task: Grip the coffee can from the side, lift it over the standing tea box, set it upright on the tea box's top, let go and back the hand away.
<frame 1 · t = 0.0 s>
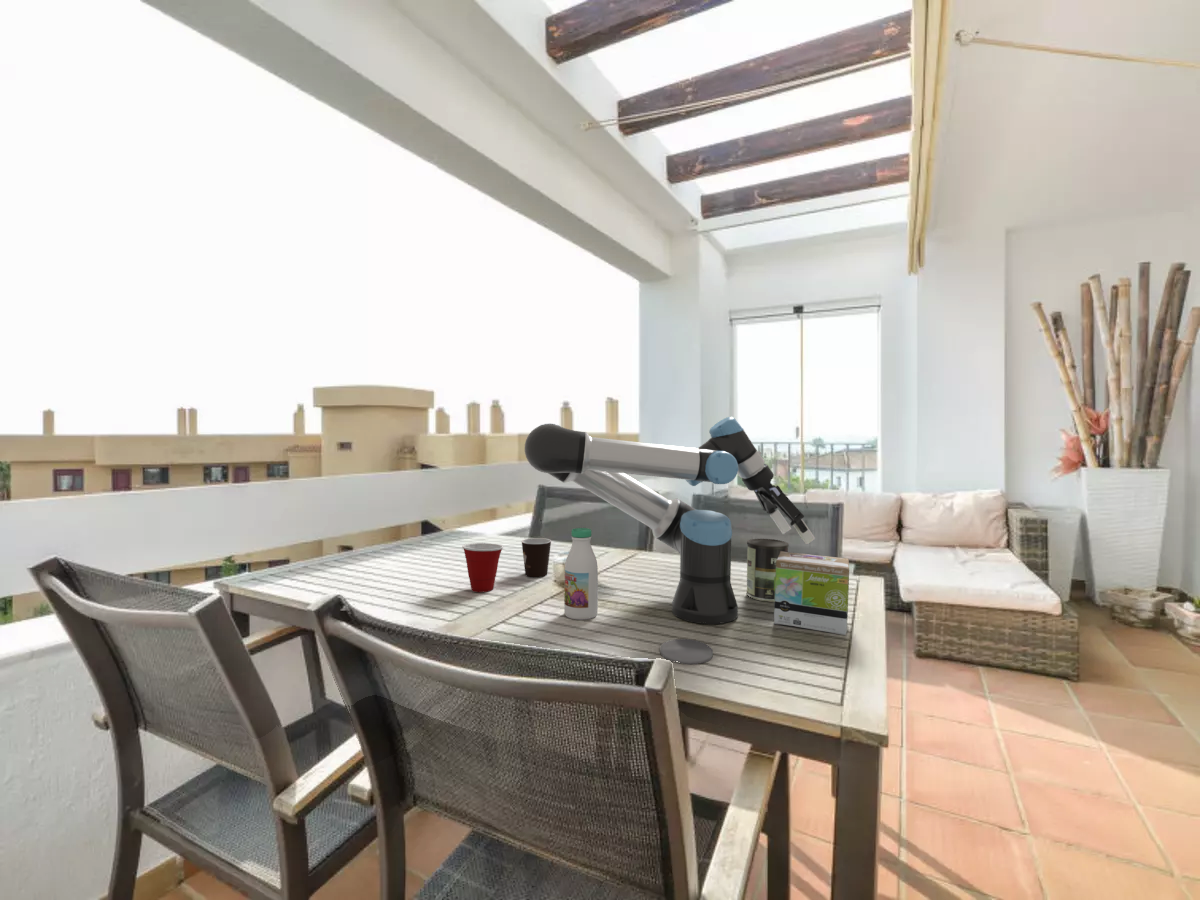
hand: (798, 536, 143), 15 cm above the table, tool tilted 35°, fingers open, 13 cm apart
slate coaster: (686, 653, 105), on the table
milk bottle: (581, 615, 126), on the table
tea box: (810, 624, 122), on the table
coffee can: (766, 596, 141), on the table
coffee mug: (537, 573, 162), on the table
plastic cup: (483, 589, 146), on the table
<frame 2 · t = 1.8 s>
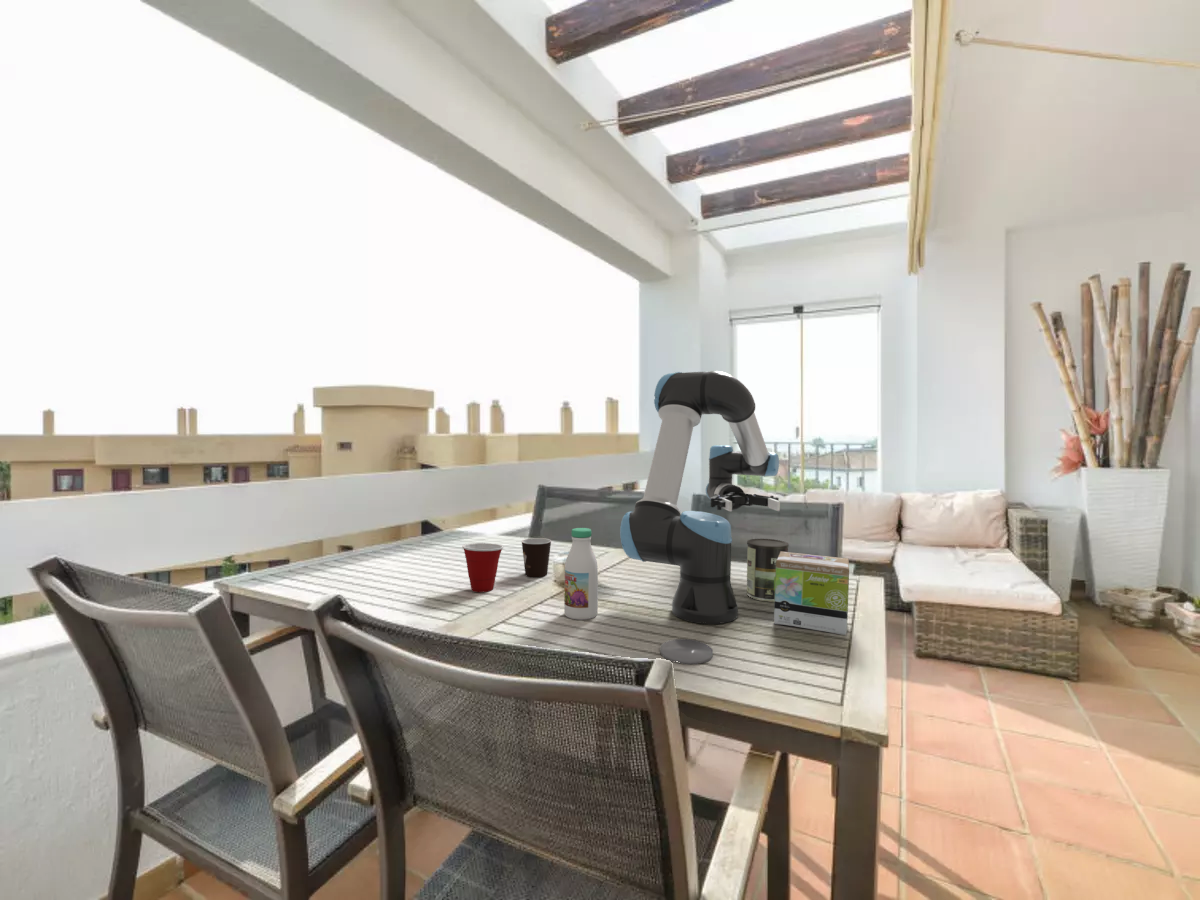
hand: (754, 506, 150), 22 cm above the table, tool horizontal, fingers open, 13 cm apart
nothing on the table moved.
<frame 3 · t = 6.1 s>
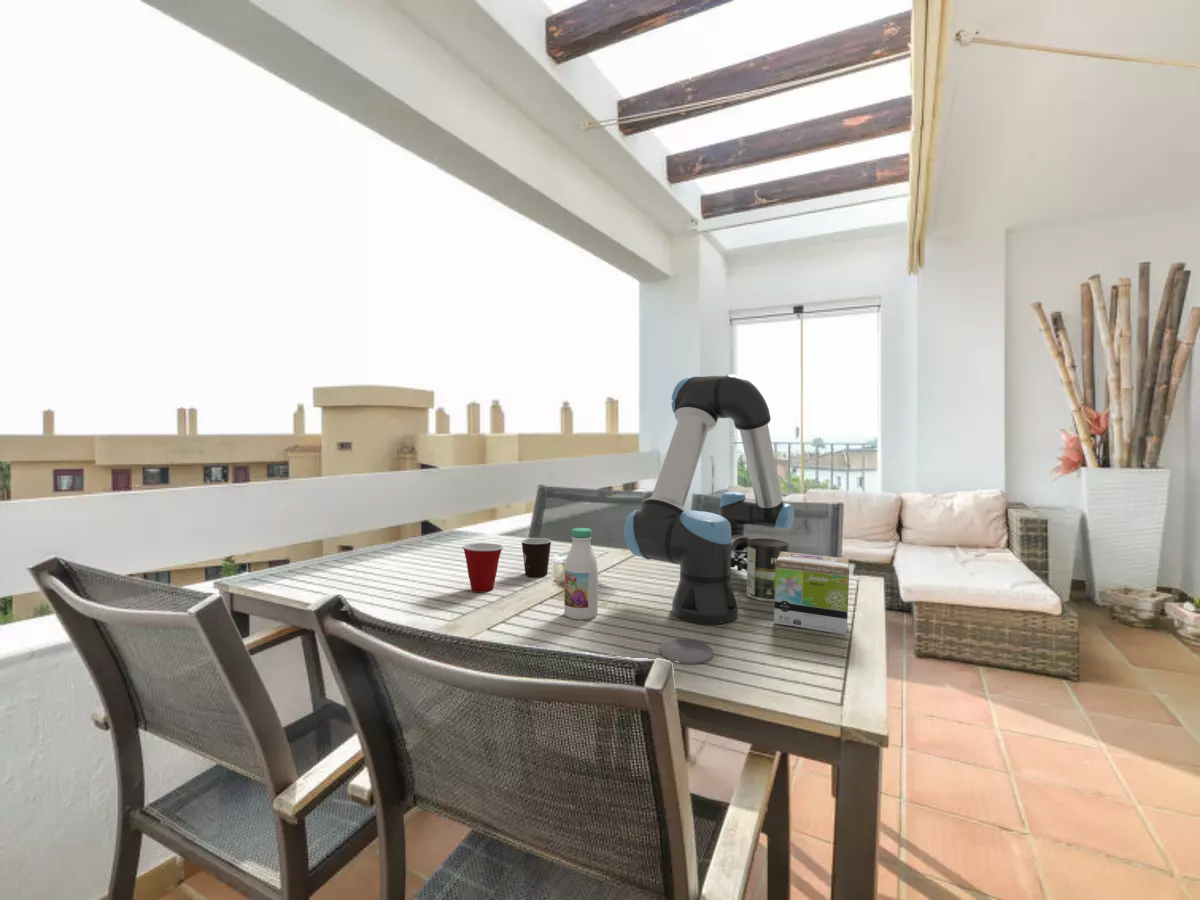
hand: (773, 569, 137), 8 cm above the table, tool horizontal, fingers closed on coffee can, 10 cm apart
coffee can: (766, 596, 141), on the table, touching gripper
everything else where it was.
when the fingers open (24 cm above the table, at t = 12.5 s): coffee can drops 1 cm, resting on tea box.
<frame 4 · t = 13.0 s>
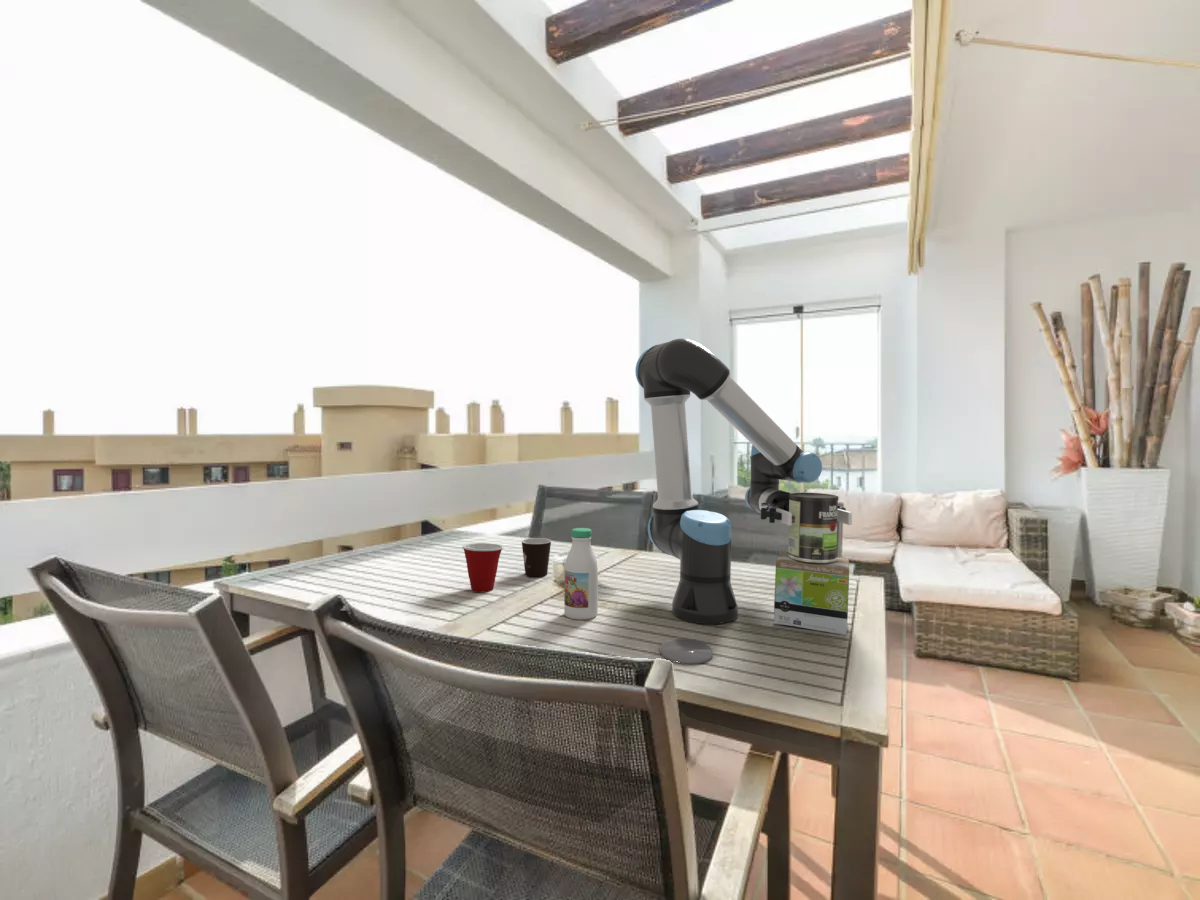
hand: (820, 518, 118), 24 cm above the table, tool horizontal, fingers open, 13 cm apart
tea box: (810, 624, 122), on the table, touching coffee can
coffee can: (811, 558, 121), point 14 cm above the table, touching tea box
everything else where it was.
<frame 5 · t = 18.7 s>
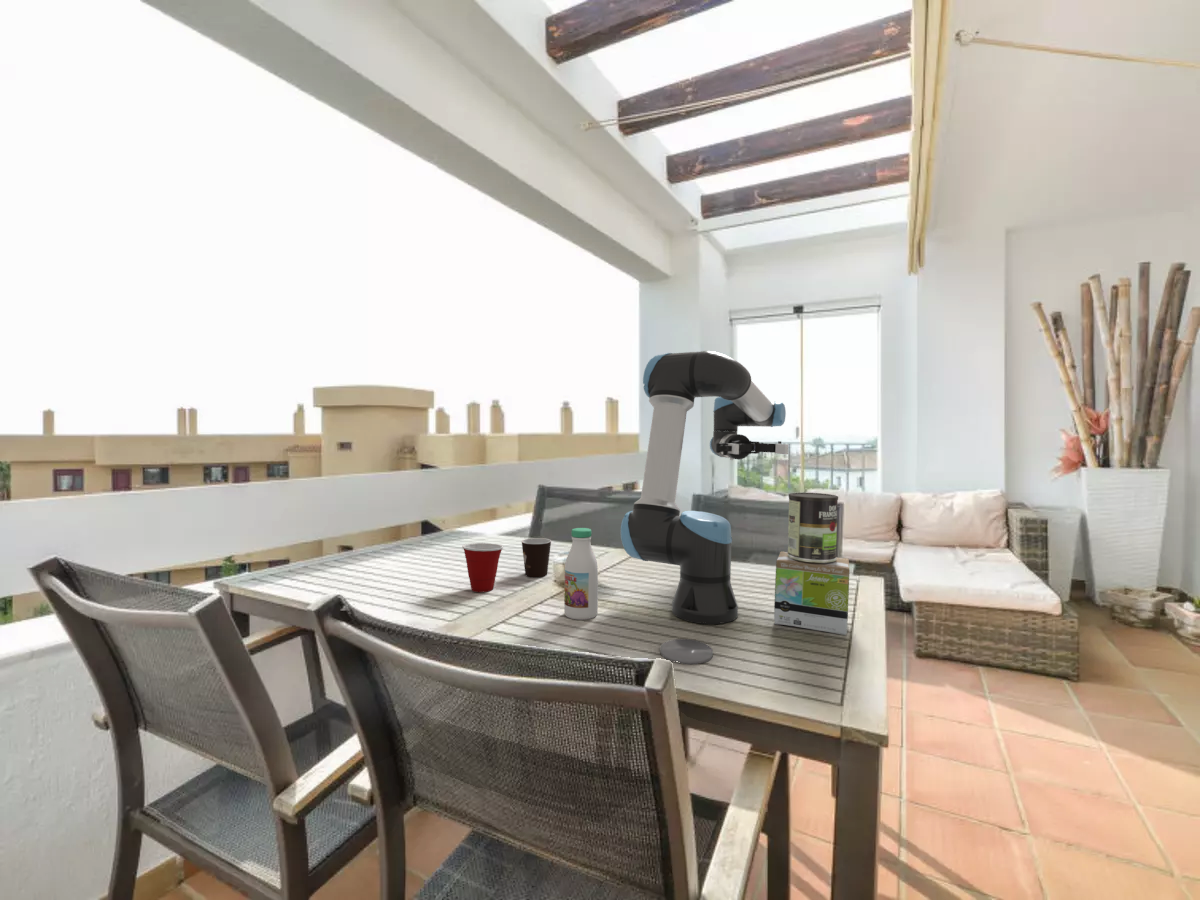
hand: (762, 449, 145), 38 cm above the table, tool horizontal, fingers open, 13 cm apart
nothing on the table moved.
at the end: coffee can inside the target area on the tea box (0.2 cm from its centre), point 14.8 cm above the tea box's base; coffee can tilted 0°; the gripper is holding nothing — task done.
